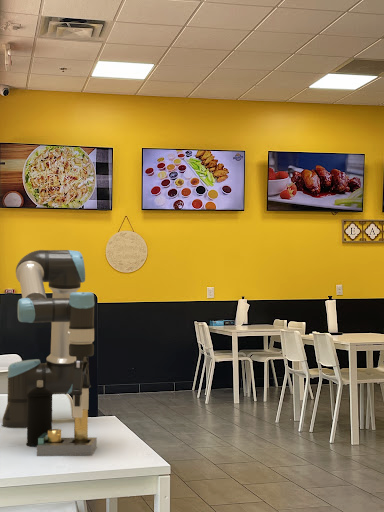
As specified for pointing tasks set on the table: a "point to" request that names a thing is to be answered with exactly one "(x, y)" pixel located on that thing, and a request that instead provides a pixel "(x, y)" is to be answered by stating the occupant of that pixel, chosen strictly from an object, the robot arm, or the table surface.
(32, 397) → the aerosol can
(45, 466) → the table surface
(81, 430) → the brass rod
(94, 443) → the jig
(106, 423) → the table surface
